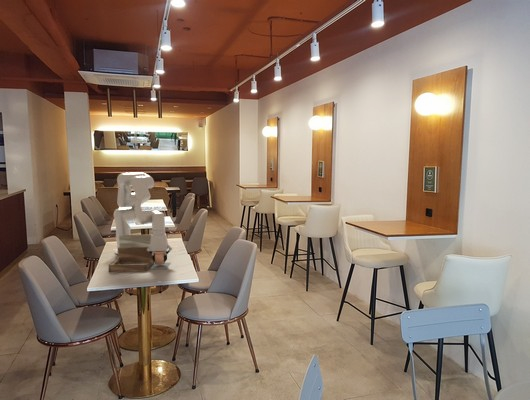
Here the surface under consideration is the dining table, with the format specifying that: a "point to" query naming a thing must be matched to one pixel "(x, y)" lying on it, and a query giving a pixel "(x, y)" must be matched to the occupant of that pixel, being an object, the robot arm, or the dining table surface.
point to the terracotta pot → (159, 257)
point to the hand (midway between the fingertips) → (159, 260)
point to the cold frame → (133, 254)
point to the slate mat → (160, 266)
